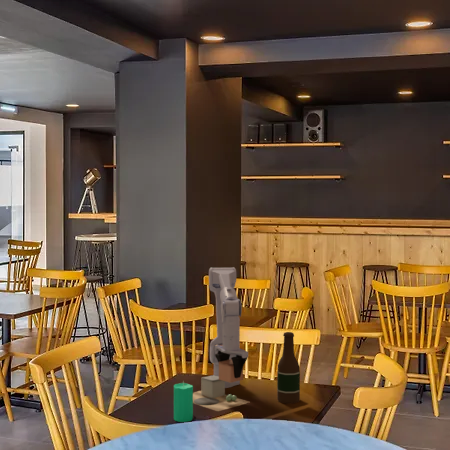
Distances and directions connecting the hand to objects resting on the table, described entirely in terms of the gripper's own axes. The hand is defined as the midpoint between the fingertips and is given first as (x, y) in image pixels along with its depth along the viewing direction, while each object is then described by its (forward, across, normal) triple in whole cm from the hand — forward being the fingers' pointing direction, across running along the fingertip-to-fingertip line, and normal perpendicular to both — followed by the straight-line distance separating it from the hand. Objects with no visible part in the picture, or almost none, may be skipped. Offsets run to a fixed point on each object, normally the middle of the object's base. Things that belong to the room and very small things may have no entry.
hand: (230, 375), depth 232 cm
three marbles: (+8, 0, 0) cm, 8 cm away
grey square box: (+8, -9, 0) cm, 12 cm away
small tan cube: (+1, 0, 0) cm, 1 cm away
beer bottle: (+10, +13, +14) cm, 22 cm away
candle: (+10, +2, -22) cm, 25 cm away
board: (+9, -5, -4) cm, 11 cm away
